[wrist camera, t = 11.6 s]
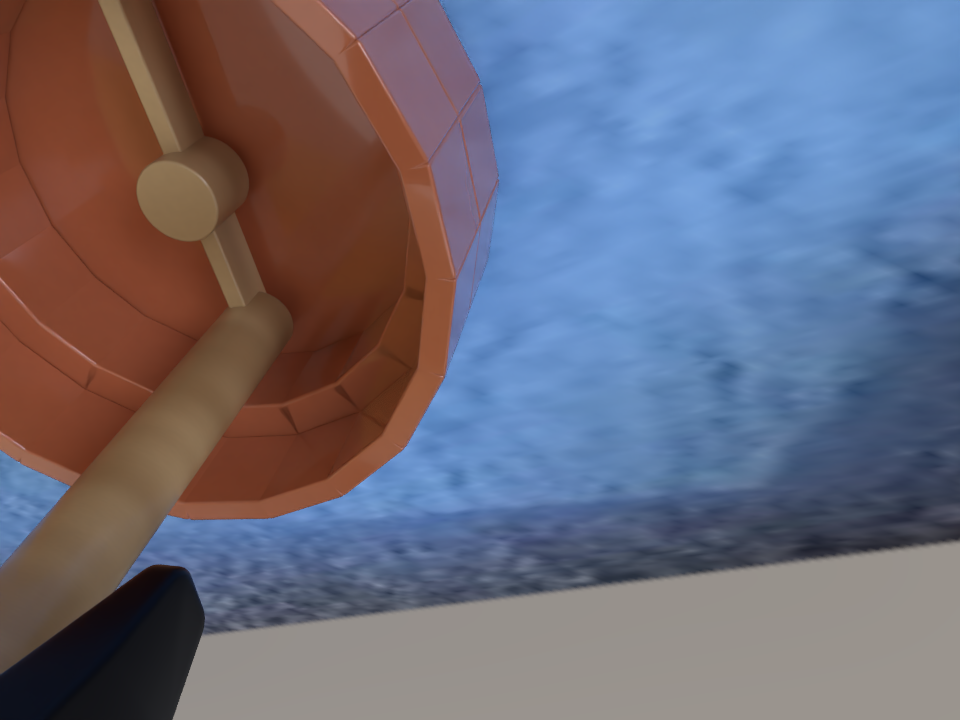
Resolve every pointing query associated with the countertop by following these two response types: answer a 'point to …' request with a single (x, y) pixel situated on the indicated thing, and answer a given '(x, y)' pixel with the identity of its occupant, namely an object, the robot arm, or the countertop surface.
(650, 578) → the countertop surface
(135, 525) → the stirrer
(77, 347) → the bowl
